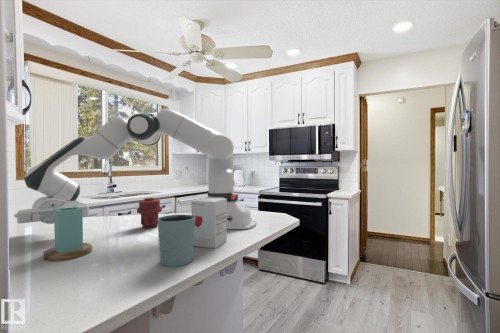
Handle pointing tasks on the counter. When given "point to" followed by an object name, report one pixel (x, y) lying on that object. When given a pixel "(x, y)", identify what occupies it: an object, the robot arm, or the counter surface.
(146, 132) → the robot arm
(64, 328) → the counter surface
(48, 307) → the counter surface
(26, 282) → the counter surface
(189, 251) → the teal cup
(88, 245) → the post stand
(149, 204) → the mechanical component
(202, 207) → the supplement box
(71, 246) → the teal box
